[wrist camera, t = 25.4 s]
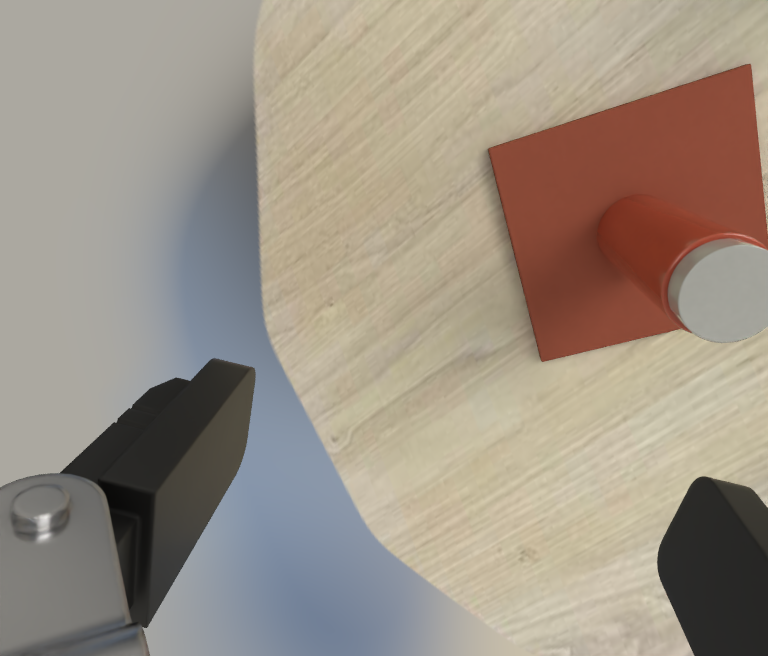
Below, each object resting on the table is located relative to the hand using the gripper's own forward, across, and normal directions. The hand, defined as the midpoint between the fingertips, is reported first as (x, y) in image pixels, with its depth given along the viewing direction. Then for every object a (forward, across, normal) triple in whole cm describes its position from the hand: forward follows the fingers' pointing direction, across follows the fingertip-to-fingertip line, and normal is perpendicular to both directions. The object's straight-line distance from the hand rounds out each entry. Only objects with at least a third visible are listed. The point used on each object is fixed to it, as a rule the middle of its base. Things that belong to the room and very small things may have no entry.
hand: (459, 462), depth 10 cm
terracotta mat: (+26, -11, -2) cm, 28 cm away
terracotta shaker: (+26, -11, -1) cm, 28 cm away
